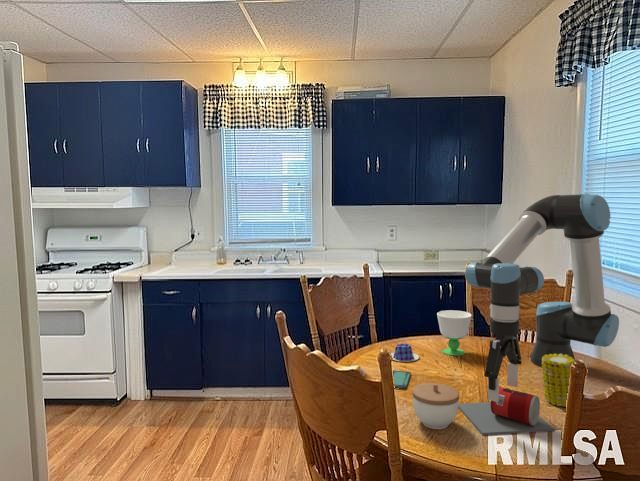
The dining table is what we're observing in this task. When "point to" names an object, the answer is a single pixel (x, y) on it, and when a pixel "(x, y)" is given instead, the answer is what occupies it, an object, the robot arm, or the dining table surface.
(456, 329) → the cup
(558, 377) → the food
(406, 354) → the pudding
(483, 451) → the dining table surface
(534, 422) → the canned food
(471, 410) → the rubber mat
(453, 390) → the lidded bowl
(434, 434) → the dining table surface
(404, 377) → the smartphone
